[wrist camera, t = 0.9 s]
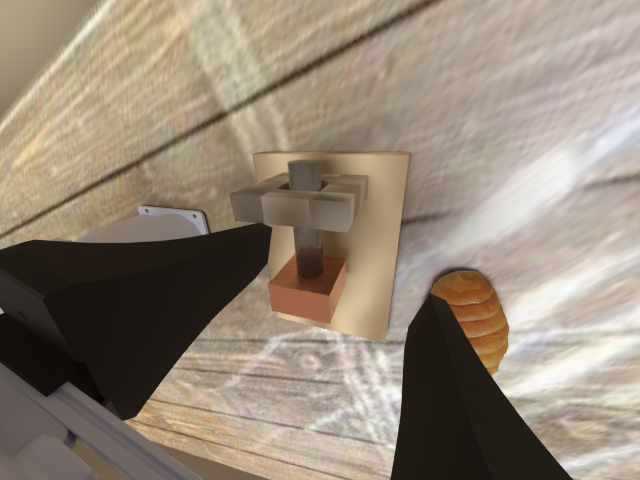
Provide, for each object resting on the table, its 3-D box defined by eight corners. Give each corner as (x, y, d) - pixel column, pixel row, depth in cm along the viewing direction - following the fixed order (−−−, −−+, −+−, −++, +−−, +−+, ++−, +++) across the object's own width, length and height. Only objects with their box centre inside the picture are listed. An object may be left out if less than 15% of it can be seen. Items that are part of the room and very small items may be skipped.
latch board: (282, 308, 28) (241, 369, 21) (262, 151, 21) (187, 167, 14) (386, 331, 25) (377, 414, 18) (409, 152, 17) (408, 174, 10)
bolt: (298, 274, 22) (272, 310, 18) (288, 156, 17) (250, 167, 13) (345, 283, 20) (329, 323, 16) (348, 156, 16) (327, 169, 12)
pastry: (415, 265, 21) (416, 292, 18) (509, 264, 18) (531, 295, 15) (420, 345, 24) (421, 379, 21) (499, 353, 22) (515, 393, 19)
